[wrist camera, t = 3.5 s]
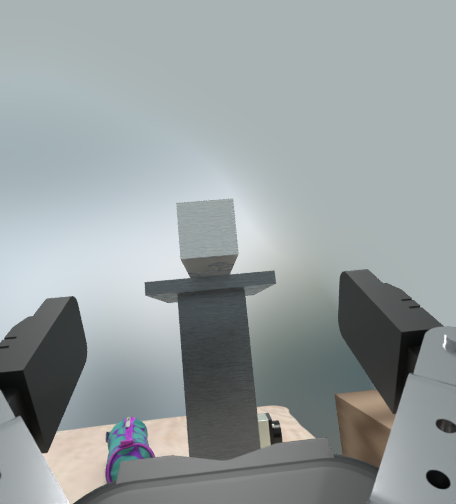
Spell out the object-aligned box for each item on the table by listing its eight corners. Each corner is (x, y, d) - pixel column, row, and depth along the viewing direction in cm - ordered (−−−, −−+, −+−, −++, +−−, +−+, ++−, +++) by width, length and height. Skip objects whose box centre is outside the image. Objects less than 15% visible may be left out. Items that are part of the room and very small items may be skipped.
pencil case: (106, 464, 84) (104, 417, 86) (148, 456, 87) (145, 411, 88) (105, 506, 65) (102, 444, 66) (159, 494, 67) (155, 435, 69)
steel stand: (330, 761, 25) (274, 270, 30) (175, 786, 25) (144, 282, 30) (284, 590, 41) (252, 286, 46) (189, 603, 40) (167, 294, 46)
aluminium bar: (238, 254, 20) (233, 198, 21) (180, 259, 20) (176, 203, 21) (223, 289, 46) (220, 264, 46) (197, 291, 46) (195, 266, 46)
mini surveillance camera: (287, 487, 65) (279, 411, 67) (217, 495, 64) (210, 418, 66) (282, 474, 70) (274, 404, 72) (217, 481, 70) (211, 411, 72)
